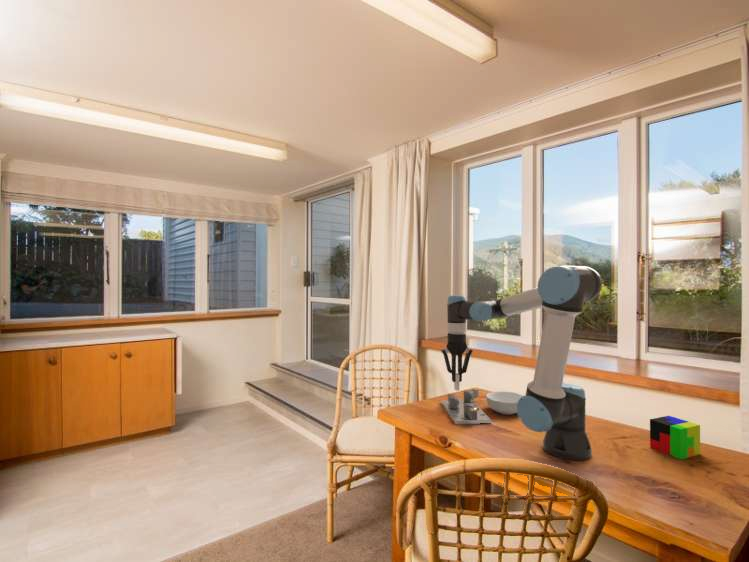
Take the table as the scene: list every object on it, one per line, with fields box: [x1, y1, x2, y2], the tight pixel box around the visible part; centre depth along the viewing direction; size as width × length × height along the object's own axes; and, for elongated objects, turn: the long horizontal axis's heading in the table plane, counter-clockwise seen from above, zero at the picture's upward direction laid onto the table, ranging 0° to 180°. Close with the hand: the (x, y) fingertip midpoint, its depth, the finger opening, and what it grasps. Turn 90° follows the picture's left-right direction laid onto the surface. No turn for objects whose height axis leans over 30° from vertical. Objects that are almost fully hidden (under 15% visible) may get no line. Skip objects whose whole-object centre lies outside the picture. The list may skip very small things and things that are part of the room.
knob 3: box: [464, 403, 477, 420], centre depth 165 cm, size 10×4×4 cm, turn 2°
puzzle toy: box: [649, 415, 701, 460], centre depth 135 cm, size 10×10×10 cm
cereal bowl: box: [486, 390, 524, 416], centre depth 176 cm, size 17×17×7 cm
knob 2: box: [463, 388, 479, 402], centre depth 189 cm, size 10×4×4 cm, turn 137°
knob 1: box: [447, 392, 460, 409], centre depth 180 cm, size 10×4×4 cm, turn 2°
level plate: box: [440, 399, 492, 425], centre depth 176 cm, size 28×15×2 cm, turn 2°
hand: (456, 389), depth 162 cm, fingers closed
